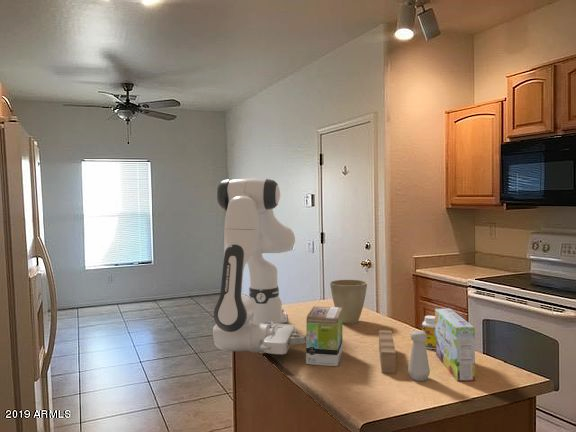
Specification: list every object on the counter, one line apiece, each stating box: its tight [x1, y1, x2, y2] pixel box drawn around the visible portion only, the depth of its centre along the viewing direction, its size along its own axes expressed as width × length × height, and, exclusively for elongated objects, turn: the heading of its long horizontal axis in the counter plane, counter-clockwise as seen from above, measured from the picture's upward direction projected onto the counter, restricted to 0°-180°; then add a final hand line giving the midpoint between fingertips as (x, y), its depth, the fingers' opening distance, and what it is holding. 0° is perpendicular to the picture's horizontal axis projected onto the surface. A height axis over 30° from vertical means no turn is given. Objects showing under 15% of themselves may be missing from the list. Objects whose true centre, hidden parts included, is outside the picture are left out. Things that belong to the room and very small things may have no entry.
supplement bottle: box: [421, 315, 436, 350], centre depth 156 cm, size 6×6×10 cm
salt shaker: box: [407, 330, 431, 382], centre depth 129 cm, size 6×6×13 cm
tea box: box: [305, 305, 344, 367], centre depth 147 cm, size 15×10×15 cm
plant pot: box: [329, 279, 368, 325], centre depth 189 cm, size 15×15×16 cm
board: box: [378, 329, 397, 374], centre depth 144 cm, size 22×4×6 cm, turn 171°
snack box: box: [434, 308, 476, 382], centre depth 137 cm, size 21×6×15 cm, turn 178°
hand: (305, 339), depth 148 cm, fingers closed
